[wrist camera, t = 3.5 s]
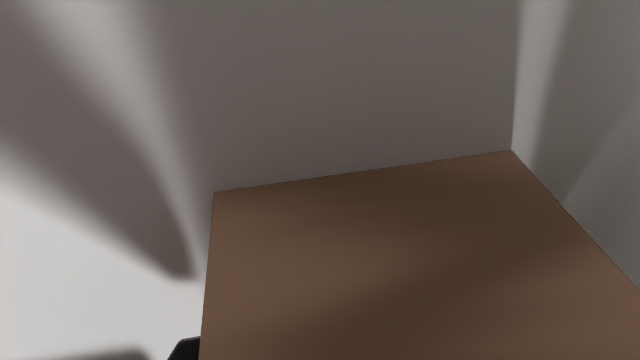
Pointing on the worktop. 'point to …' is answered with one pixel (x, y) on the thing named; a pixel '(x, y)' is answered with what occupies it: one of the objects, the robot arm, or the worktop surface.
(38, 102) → the worktop surface
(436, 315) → the walnut block
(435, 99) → the worktop surface
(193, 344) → the robot arm
